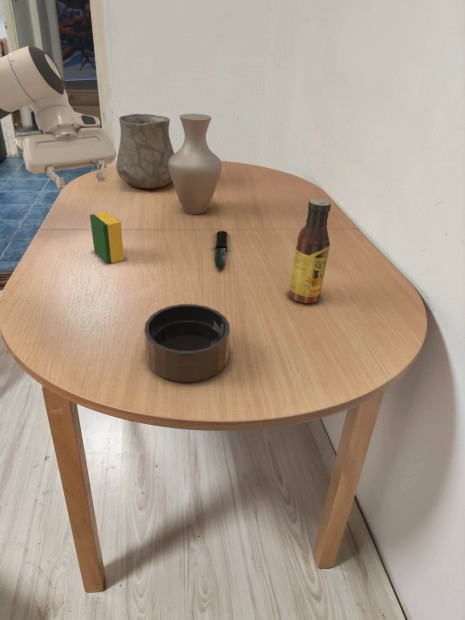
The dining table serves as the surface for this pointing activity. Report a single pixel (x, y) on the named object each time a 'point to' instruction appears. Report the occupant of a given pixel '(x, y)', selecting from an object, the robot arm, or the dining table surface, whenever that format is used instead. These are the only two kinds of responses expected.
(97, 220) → the sponge
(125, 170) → the vessel
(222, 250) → the knife
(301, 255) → the sauce bottle
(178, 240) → the dining table surface
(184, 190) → the vase
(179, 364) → the bowl
